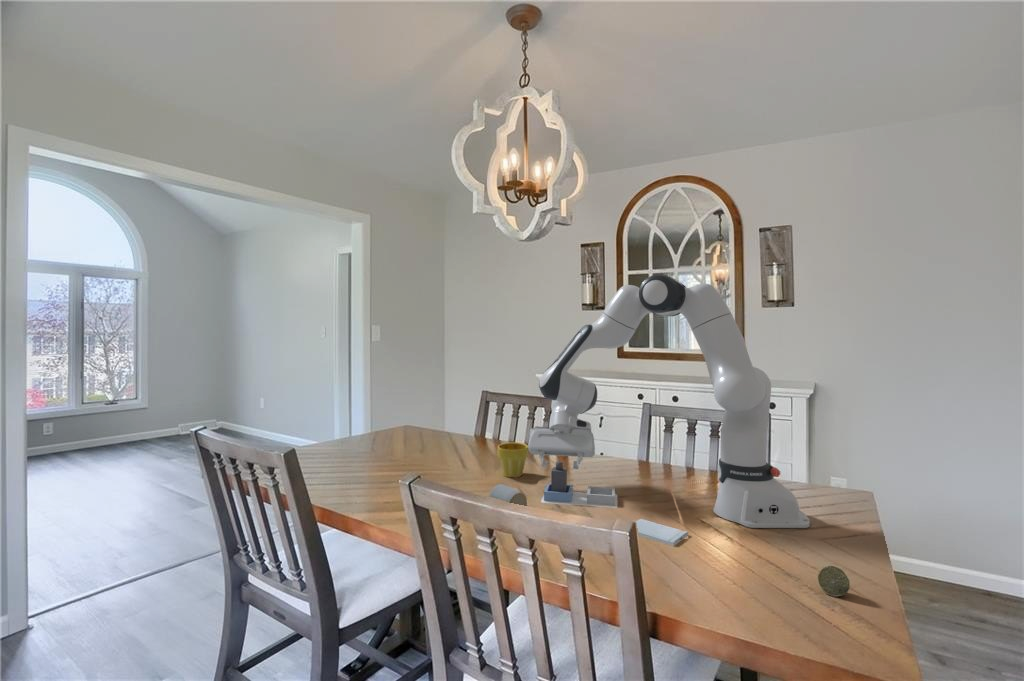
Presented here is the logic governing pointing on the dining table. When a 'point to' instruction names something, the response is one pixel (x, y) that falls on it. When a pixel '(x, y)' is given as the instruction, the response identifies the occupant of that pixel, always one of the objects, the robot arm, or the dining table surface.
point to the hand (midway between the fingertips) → (559, 467)
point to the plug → (559, 478)
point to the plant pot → (512, 458)
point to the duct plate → (582, 497)
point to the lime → (833, 581)
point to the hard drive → (660, 532)
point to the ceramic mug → (508, 495)
